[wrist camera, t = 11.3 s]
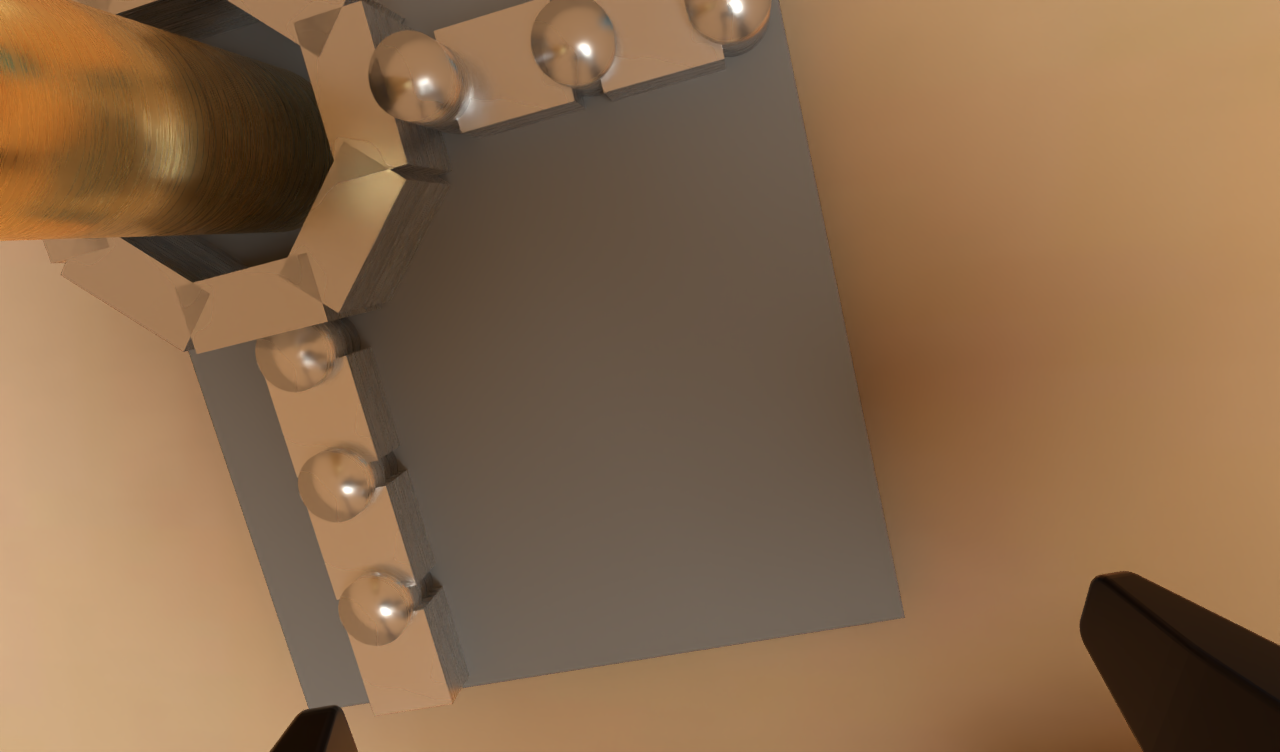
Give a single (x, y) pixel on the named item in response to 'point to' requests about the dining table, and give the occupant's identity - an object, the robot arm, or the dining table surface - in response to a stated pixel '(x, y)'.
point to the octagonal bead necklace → (382, 256)
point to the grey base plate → (597, 388)
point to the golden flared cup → (146, 131)
